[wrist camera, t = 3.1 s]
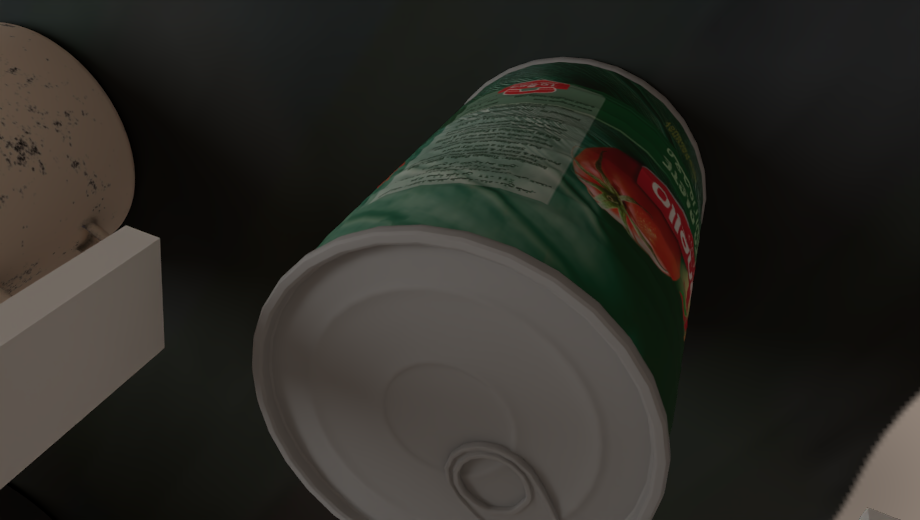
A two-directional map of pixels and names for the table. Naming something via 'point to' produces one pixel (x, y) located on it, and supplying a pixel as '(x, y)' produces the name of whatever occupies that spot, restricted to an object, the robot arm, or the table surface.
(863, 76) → the table surface
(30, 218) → the teacup with lid
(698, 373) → the table surface
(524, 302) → the canned tomato
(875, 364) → the table surface
